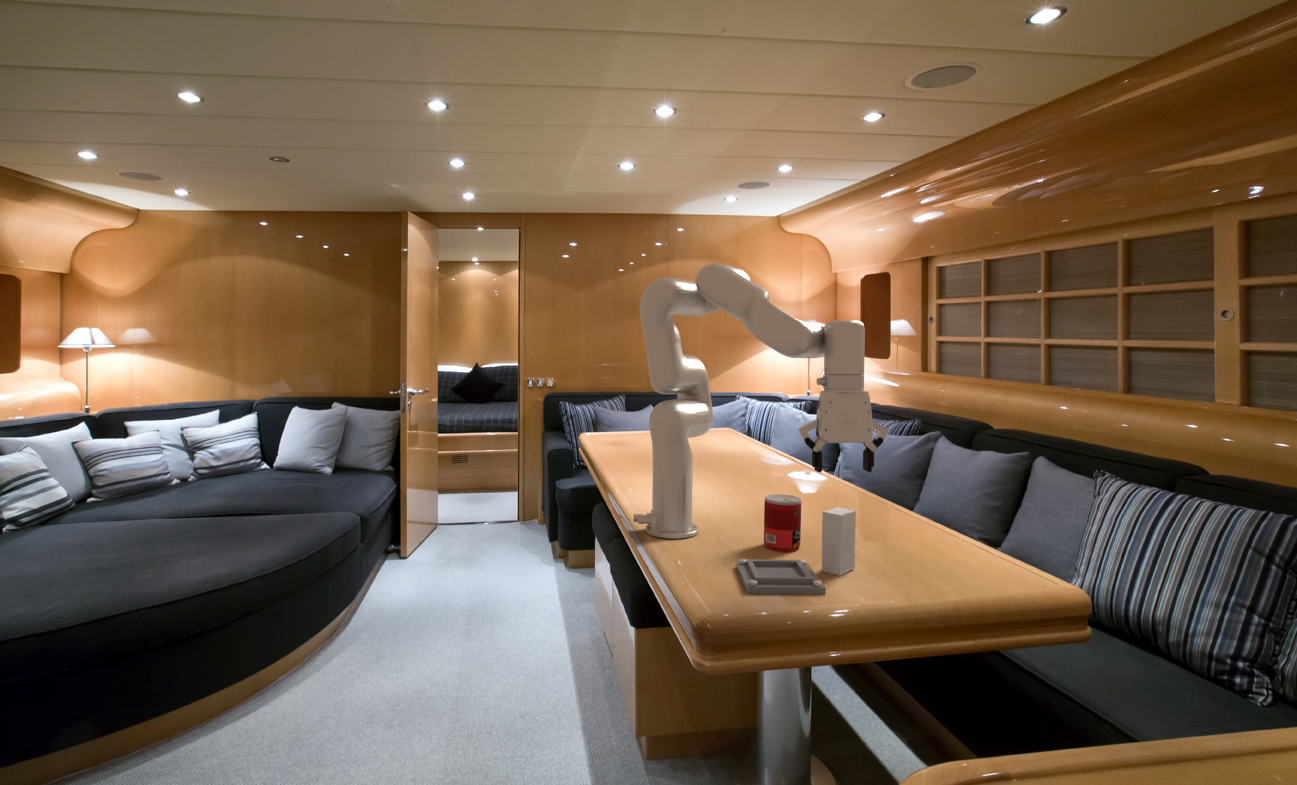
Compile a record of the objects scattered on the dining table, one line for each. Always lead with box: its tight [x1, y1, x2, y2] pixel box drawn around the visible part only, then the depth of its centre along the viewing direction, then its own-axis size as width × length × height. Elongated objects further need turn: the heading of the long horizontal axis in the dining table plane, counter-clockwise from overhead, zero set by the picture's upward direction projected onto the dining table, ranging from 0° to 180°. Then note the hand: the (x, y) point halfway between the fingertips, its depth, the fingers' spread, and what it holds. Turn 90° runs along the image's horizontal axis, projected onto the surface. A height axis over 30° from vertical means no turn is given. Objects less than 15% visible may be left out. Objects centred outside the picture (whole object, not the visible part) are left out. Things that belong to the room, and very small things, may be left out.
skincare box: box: [821, 506, 857, 577], centre depth 127 cm, size 6×4×12 cm
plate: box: [735, 558, 827, 595], centre depth 121 cm, size 14×14×2 cm
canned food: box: [763, 494, 802, 553], centre depth 142 cm, size 8×8×11 cm
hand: (842, 471), depth 126 cm, fingers open, 9 cm apart
